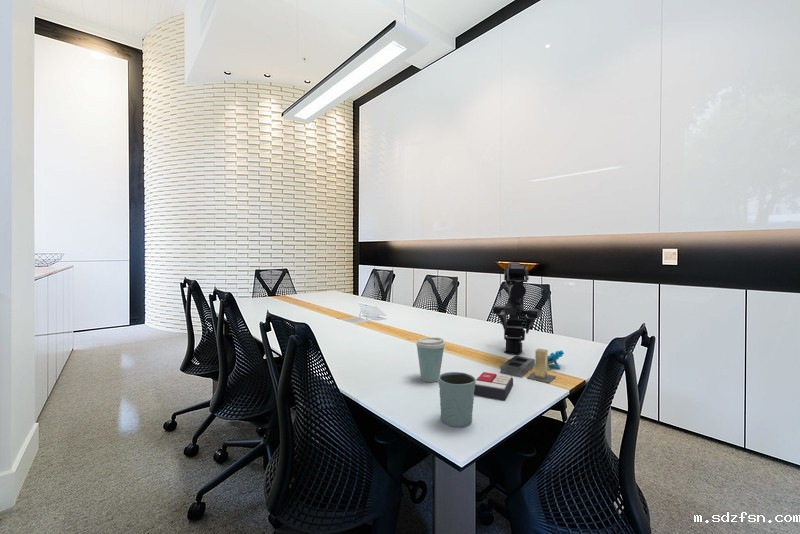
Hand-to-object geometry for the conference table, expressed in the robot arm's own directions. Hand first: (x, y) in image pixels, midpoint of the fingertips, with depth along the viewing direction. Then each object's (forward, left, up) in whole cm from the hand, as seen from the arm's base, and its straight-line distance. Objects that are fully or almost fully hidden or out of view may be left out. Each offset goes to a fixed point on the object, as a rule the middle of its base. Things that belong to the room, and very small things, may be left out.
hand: (515, 332), depth 149 cm
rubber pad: (+14, -12, -13) cm, 23 cm away
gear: (+13, +3, -13) cm, 19 cm away
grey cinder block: (+4, -8, -13) cm, 16 cm away
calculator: (+4, -33, -14) cm, 36 cm away
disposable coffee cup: (-18, -38, -13) cm, 44 cm away
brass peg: (+14, -12, -13) cm, 22 cm away
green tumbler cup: (+5, -60, -13) cm, 62 cm away
